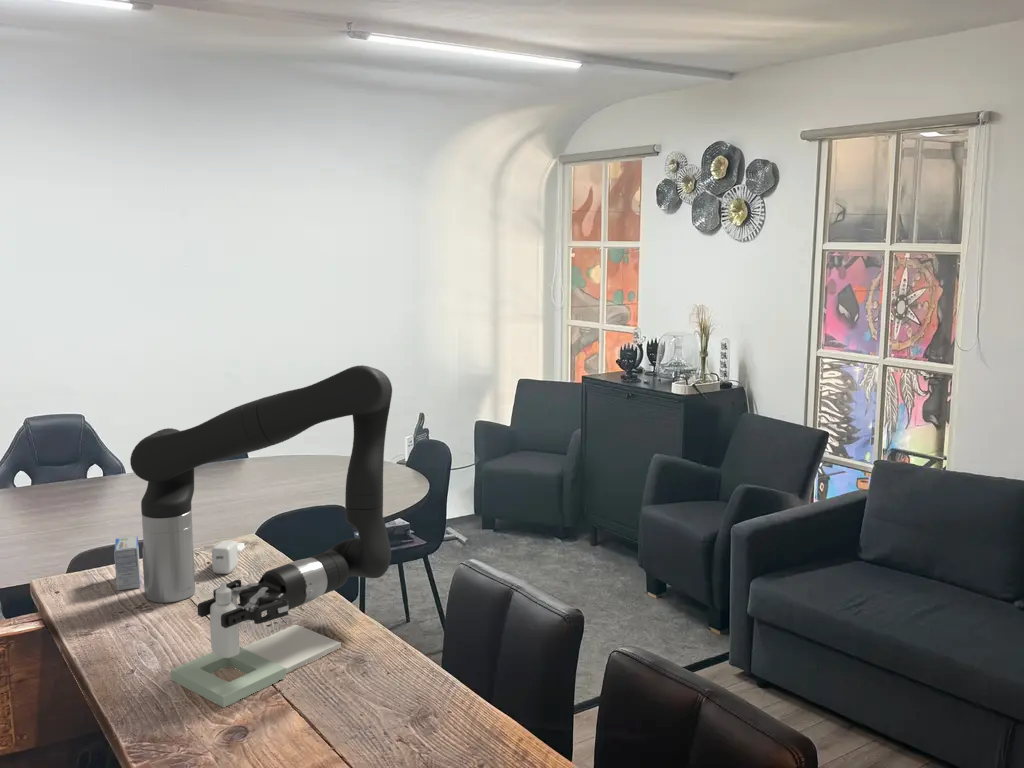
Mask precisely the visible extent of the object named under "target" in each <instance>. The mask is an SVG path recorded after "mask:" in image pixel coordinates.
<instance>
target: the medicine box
mask: <svg viewBox="0 0 1024 768" xmlns="http://www.w3.org/2000/svg"><path fill="white" fill-rule="evenodd" d="M114 543H115V544H114V552H113V553H114V554H113V555H114V558H113V559H114V568H115V570H114V571H115V580H116V590H117V591H126V590H133V589H140V588H141V567H140V566H141V565H140V564H141V563H140V551H139V538H138V536H137V535H134V536H124V537H117V538H115V542H114Z"/></svg>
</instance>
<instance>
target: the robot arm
mask: <svg viewBox="0 0 1024 768" xmlns="http://www.w3.org/2000/svg"><path fill="white" fill-rule="evenodd" d="M392 397H393V385H392V382H391V380H390V377H388V375H386V373H384V372H383V371H382V370H380V369H378V368H376V367H372V366H368V365H364V364H363V365H355V366H351V367H349V368H346V369H344V370H342V371H339V372H338V373H335V374H332V376H331V375H330V376H329V377H327V378H324V379H322V380H320V381H317V382H316V383H313V384H309V385H307V386H304V387H300V388H296V389H291V390H287V391H283V392H280V393H276V394H275V393H274V394H273V395H268V396H265V397H261V398H259V399H256V400H252V401H250V402H246V403H244V404H240V405H238V406H235V407H233V408H230V409H228V410H227V411H224V412H223V413H220V414H217V415H216V416H214V417H211V418H210V419H208V420H206V421H204V422H202V423H200V424H198V425H196V426H193V427H190V428H186V429H184V430H179V429H176V428H173V427H172V428H169V427H168V428H162V429H159V430H157V431H155V432H153V433H151V434H149V435H148V436H145V437H144V438H142V439H141V440H140V441H139V442H138V443H137V444H136V445H135V446H134V448H133V450H132V451H131V455H130V458H129V459H130V462H129V464H130V467H131V468H130V469H131V470H132V471H133V473H134V474H135V475H136V476H137V477H138V478H139V479H141V480H143V481H145V482H147V487H146V490H145V493H144V494H143V496H142V498H141V502H140V508H141V522H142V523H141V524H142V525H141V526H142V542H143V543H142V544H143V546H142V548H141V553H142V554H141V555H142V556H141V557H142V573H143V574H142V575H143V588H144V591H143V592H144V593H145V595H146V598H147V600H149V601H150V602H154V603H161V604H162V603H164V604H165V603H166V604H167V603H174V602H180V601H184V600H185V599H189V598H190V597H193V595H195V593H196V578H195V577H196V575H195V573H196V571H195V556H194V554H195V553H194V552H195V551H194V550H195V549H194V534H193V533H194V531H193V514H192V513H193V512H192V510H193V509H192V501H193V496H194V492H195V468H197V467H198V468H199V467H200V466H202V465H206V464H208V463H211V462H215V461H221V460H225V459H230V458H233V457H237V456H240V455H244V454H249V453H251V452H252V453H253V452H255V451H261V450H262V449H266V448H269V447H272V446H274V445H275V446H276V445H279V444H281V443H283V442H285V441H288V440H290V439H292V438H294V437H296V436H298V435H300V434H301V433H303V432H305V431H306V430H308V429H310V428H312V427H313V426H315V425H317V424H320V423H325V422H326V421H328V422H329V421H331V420H335V419H339V418H343V417H349V416H352V422H353V441H352V447H351V448H352V449H351V454H350V459H349V463H348V468H347V472H346V481H345V501H344V504H345V505H344V506H345V507H344V512H345V513H344V515H345V521H346V523H347V524H349V525H350V526H352V527H354V528H356V529H357V531H358V537H359V538H358V537H357V538H355V537H354V538H348V539H345V540H342V541H340V542H337V543H336V544H335V545H333V546H332V547H330V548H329V549H327V550H326V551H325V552H321V553H319V554H316V555H313V556H310V557H308V558H303V559H298V560H294V561H291V562H288V563H285V564H283V565H281V566H277V567H275V568H272V569H269V570H266V571H265V572H264V573H263V574H262V576H261V577H260V579H259V580H258V582H253V583H249V584H247V585H244V584H242V580H241V579H235V580H232V581H230V582H228V583H226V587H227V588H230V589H231V599H232V601H231V602H232V603H233V604H234V605H235V606H236V608H237V609H234V610H232V611H229V612H227V613H224V614H222V615H221V626H222V627H224V628H228V627H230V626H233V625H235V624H238V623H239V624H240V623H242V622H245V623H250V622H252V621H253V624H255V625H260V624H263V623H267V622H270V621H273V620H276V619H280V618H283V617H286V616H288V615H289V611H290V610H293V609H296V608H297V607H300V606H303V605H305V604H308V603H310V602H312V601H314V600H316V599H317V598H319V597H321V596H323V595H326V594H328V593H330V592H333V591H336V590H338V589H340V588H341V587H342V586H344V585H345V584H346V583H347V581H348V580H349V577H360V578H364V579H365V578H366V579H379V578H381V577H383V576H384V575H385V574H386V573H387V571H388V569H389V567H390V564H391V560H392V548H391V544H390V539H389V534H388V529H387V526H386V523H385V519H384V515H383V514H384V507H383V506H384V456H385V444H386V443H385V441H386V435H387V428H388V427H387V426H388V419H389V414H390V408H391V403H392ZM219 588H220V587H218V588H216V589H214V590H213V595H212V596H213V597H212V598H210V599H207V600H205V601H201V602H199V603H198V604H197V616H198V617H201V618H204V617H207V616H210V606H211V605H212V604H213V603H215V602H216V593H215V591H216V590H217V589H219ZM238 598H239V603H238ZM264 614H266V615H264Z"/></svg>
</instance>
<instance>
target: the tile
mask: <svg viewBox="0 0 1024 768" xmlns="http://www.w3.org/2000/svg"><path fill="white" fill-rule="evenodd" d="M241 648H243V649H246V650H248V651H250V652H252V653H254V654H256V655H259V656H261V657H263V658H265V659H267V660H270V661H272V662H274V663H276V664H278V665H281V666H283V667H285V668H286V673H288V672H290V671H292V670H294V669H296V668H298V667H300V666H302V665H304V664H306V663H309V662H311V661H313V660H315V659H317V658H319V657H321V656H323V655H325V654H328V653H329V652H332V651H334V650H336V649H338V650H340V649H342V642H340V641H337V640H335V639H332V638H331V637H328V636H326V635H323V634H321V633H318V632H315V631H313V630H311V629H308V628H306V627H304V626H301V625H298V624H293V625H292V626H289V627H285V628H284V629H281V630H279V631H277V632H275V633H271V635H268V636H266V637H263V638H260V639H259V640H256V641H254V642H251V643H249V644H247V645H244V646H243V647H242V646H241ZM339 648H340V649H339ZM336 651H337V650H336ZM334 652H335V651H334ZM332 653H333V652H332ZM328 655H329V654H328ZM321 658H322V657H321ZM319 659H320V658H319ZM317 660H318V659H317ZM315 661H316V660H315ZM313 662H314V661H313ZM311 663H312V662H311ZM309 664H310V663H309ZM300 668H301V667H300ZM298 669H299V668H298ZM296 670H297V669H296ZM294 671H295V670H294ZM292 672H293V671H292ZM290 673H291V672H290ZM288 674H289V673H288Z"/></svg>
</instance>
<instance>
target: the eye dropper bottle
mask: <svg viewBox="0 0 1024 768" xmlns="http://www.w3.org/2000/svg"><path fill="white" fill-rule="evenodd" d="M226 584H227V582H226V581H221V582H220V585H219V587H218V588H219V589H217V588H216V589H217V590H216V591H215V593H216V602H215V603H213V604H212V605H211V606H210V614H209V617H210V618H209V623H210V624H209V625H210V630H209V631H210V648H211V651H212V652H214V653H215V654H216V655H218V656H220V657H224V658H231V657H233V656H236V655H238V654H239V653H240V647H241V646H240V623H238V624H235V625H233V626H230V627H228V628H224V627H222V626H221V615H222V614H224V613H227V612H229V611H232V610H234V609H237V608H236V606H235V605H234V604H233V603H232V602H231V601H232V599H231V589H230V588H227V587H226Z"/></svg>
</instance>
